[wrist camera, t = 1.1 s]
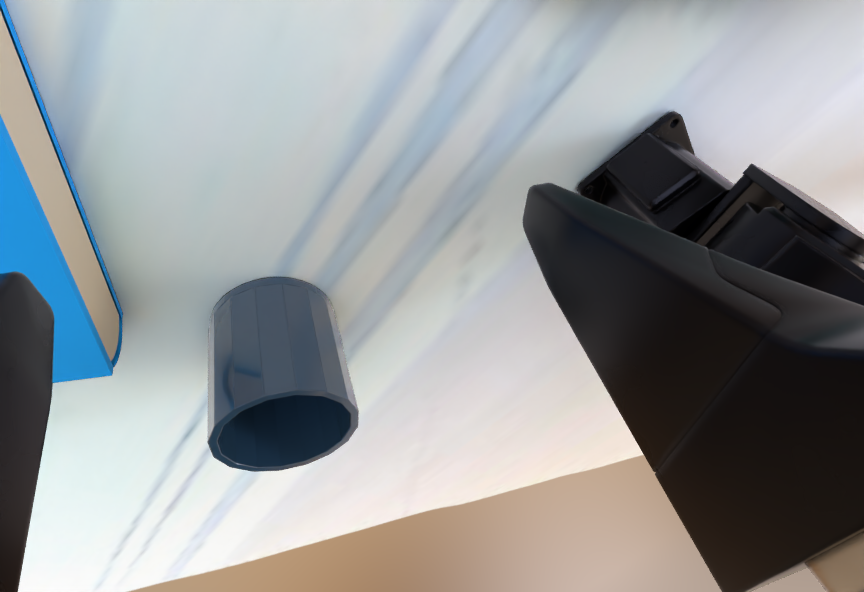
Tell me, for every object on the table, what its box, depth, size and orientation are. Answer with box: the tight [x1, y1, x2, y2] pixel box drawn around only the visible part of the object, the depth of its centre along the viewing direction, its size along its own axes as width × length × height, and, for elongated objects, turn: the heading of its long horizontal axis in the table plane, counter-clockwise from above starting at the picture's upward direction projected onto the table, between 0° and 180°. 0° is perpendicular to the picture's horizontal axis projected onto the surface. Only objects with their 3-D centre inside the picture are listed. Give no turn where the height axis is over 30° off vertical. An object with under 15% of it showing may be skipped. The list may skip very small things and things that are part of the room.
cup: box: [208, 277, 359, 472], centre depth 25 cm, size 7×7×8 cm
